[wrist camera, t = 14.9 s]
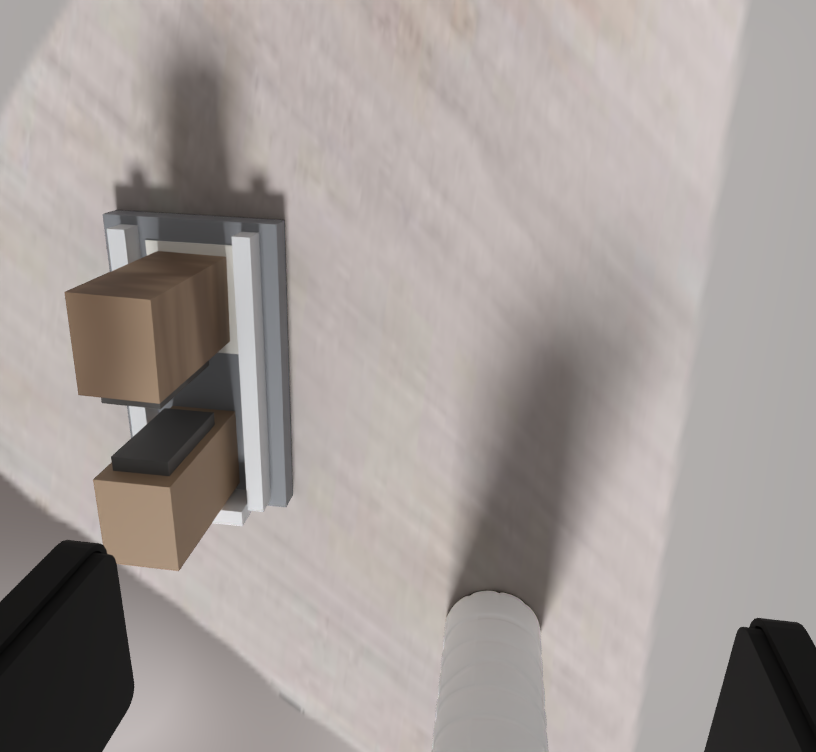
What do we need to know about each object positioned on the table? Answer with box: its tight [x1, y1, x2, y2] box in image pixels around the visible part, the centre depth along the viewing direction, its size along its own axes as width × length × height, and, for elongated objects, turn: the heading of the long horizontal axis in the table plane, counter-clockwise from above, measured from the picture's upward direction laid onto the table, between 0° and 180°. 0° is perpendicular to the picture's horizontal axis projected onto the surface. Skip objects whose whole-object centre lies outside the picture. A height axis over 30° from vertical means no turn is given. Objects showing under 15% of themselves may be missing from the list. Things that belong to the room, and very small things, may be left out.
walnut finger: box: [65, 251, 230, 409], centre depth 36 cm, size 4×6×9 cm
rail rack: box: [93, 210, 293, 571], centre depth 38 cm, size 18×10×10 cm, turn 178°
